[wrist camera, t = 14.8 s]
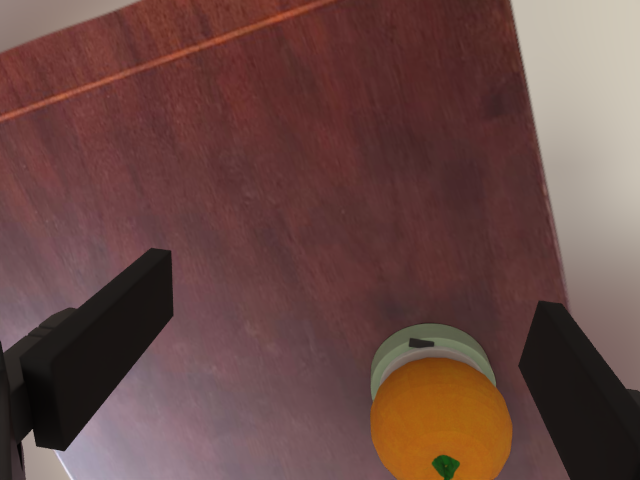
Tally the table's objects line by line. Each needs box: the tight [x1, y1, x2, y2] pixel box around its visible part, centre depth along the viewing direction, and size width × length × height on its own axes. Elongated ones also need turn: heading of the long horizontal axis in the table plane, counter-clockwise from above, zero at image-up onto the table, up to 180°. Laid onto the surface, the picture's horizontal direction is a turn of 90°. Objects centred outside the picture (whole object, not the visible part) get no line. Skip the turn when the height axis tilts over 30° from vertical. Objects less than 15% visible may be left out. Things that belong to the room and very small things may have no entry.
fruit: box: [370, 357, 512, 480], centre depth 38 cm, size 12×12×10 cm
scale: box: [371, 323, 496, 402], centre depth 44 cm, size 12×12×3 cm
